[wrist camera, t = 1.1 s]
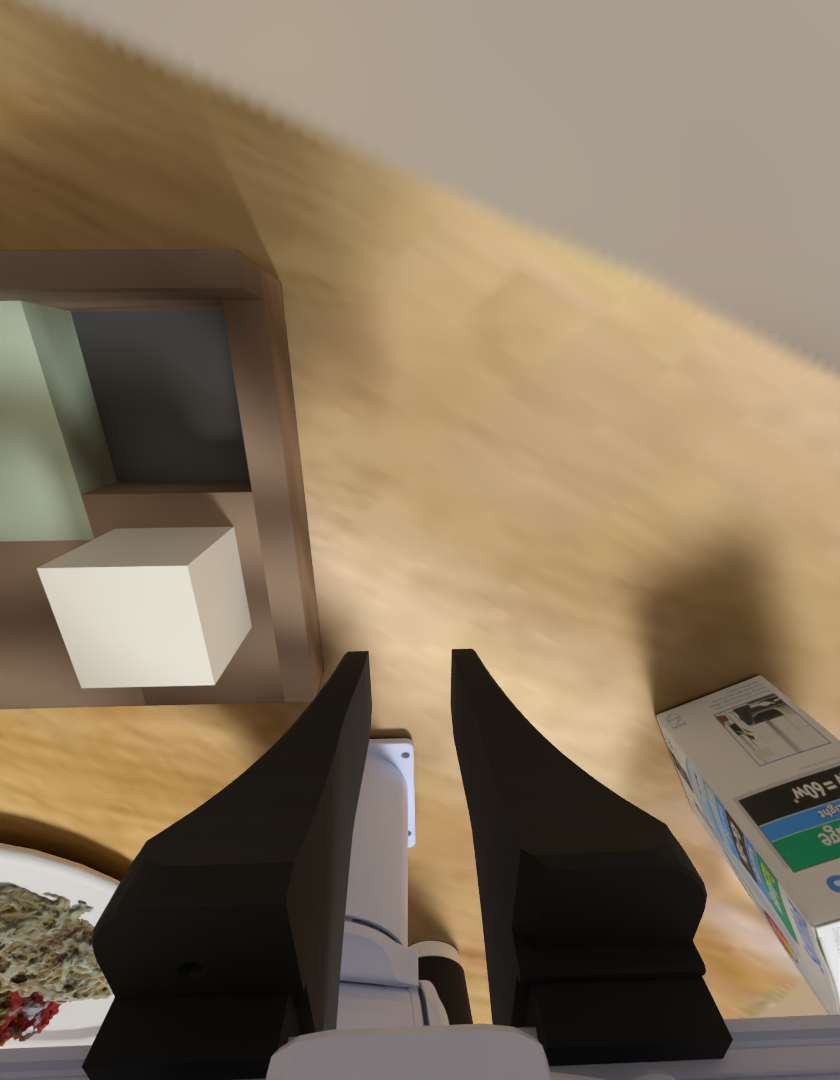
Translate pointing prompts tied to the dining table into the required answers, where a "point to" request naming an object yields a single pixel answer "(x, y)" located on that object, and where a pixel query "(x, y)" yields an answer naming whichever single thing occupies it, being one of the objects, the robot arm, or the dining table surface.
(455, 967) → the dixie cup
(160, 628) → the cream block
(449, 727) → the dining table surface
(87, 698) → the brown wooden tray
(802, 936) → the light bulb box
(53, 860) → the plated food
